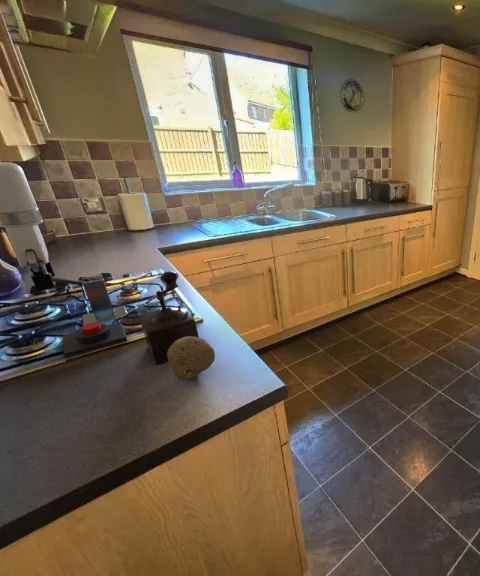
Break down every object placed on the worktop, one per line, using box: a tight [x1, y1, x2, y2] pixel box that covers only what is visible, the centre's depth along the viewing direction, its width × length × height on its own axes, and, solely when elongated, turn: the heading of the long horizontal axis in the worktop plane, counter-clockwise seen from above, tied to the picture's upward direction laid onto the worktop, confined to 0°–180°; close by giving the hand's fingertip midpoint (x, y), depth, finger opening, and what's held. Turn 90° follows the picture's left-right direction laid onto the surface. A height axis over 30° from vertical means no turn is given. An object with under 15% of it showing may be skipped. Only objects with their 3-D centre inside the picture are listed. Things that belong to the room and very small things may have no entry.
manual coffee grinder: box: [138, 270, 200, 366], centre depth 83 cm, size 16×11×18 cm
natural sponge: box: [167, 336, 216, 381], centre depth 74 cm, size 9×9×10 cm
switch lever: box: [49, 273, 94, 287], centre depth 88 cm, size 13×3×3 cm, turn 133°
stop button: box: [81, 322, 102, 335], centre depth 83 cm, size 4×4×2 cm
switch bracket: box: [81, 274, 128, 326], centre depth 94 cm, size 10×8×13 cm
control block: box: [62, 321, 129, 362], centre depth 84 cm, size 12×10×4 cm
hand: (46, 283), depth 85 cm, fingers open, 9 cm apart
